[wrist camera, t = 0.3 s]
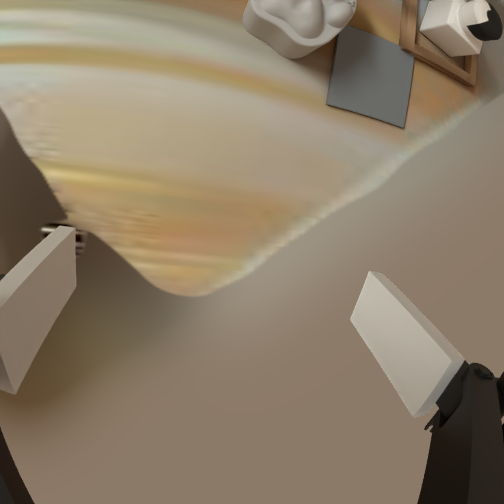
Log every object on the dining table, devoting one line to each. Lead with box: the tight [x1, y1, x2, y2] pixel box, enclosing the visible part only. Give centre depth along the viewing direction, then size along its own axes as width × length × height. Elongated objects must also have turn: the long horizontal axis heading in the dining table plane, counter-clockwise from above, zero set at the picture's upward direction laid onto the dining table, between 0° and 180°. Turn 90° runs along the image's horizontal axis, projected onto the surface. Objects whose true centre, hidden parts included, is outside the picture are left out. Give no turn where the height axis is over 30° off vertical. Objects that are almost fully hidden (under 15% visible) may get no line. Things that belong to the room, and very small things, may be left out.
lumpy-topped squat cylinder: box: [243, 0, 357, 59], centre depth 27 cm, size 10×13×9 cm
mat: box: [326, 25, 414, 128], centre depth 35 cm, size 12×12×1 cm
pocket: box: [399, 0, 478, 87], centre depth 32 cm, size 15×15×2 cm
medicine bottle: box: [420, 0, 502, 57], centre depth 27 cm, size 7×7×12 cm
